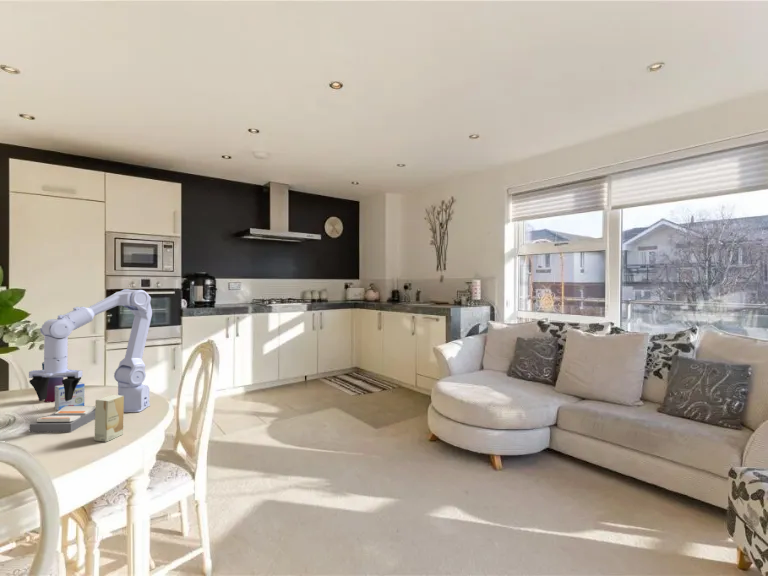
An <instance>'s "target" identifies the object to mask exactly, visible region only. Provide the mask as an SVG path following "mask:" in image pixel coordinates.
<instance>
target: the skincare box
mask: <svg viewBox="0 0 768 576" xmlns="http://www.w3.org/2000/svg"><path fill="white" fill-rule="evenodd" d="M94 406H95V419H94V441H97V442H105V443H107V442H109V441H111V440H113V439H115V438H118V437H121V436H123V435H124V413H125V412H124V396H121V395H118V394H110V395H108V396H104V397H102V398H99V399H95V405H94Z"/></svg>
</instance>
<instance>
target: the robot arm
mask: <svg viewBox="0 0 768 576" xmlns="http://www.w3.org/2000/svg"><path fill="white" fill-rule="evenodd" d="M151 301H152V297H151V295H149V293H148V292H146V291H145V290H143V289H127V288H124V289H122V290H120V291H116V292H115V293H113V294H111V295H109V296H107V297H106V298H104V299H102V300H100V301H97V302H96V303H94V304H92V305H90V306H88V307H86V306H80V307H79V306H75V307H73V308H72V309H73V310H71V311H69V312H67V313H64V314H59V315H57V318H52V319H48V320H45V321H44V323H43V324H42V325H41V327H40V328H39V333H41V335H43V336H44V337H43V339H44V341H43V343H44V344H43V362H44V370H42V369H38V370H37V369H35V370H34V369H33V370H31V371H28V378H29V379H30V380H29V384H30V385H31V386H32V387H33V389H34V391H35V393H36V395H37V398H38V401H39V402H43V401H45V399H47V387H48V382H49V379H50V377H64V378H63V380H62V383H63V385H64V390H65V401H69V400H71V399H72V397H73V393H74V391H75V388H76V386H77V384H78V382H81V379H82V377H83V370H81V369H80V370H77V369H70V368H69V369H68V367H69V366H68V364H69V363H68V361H69V357H68V356H69V355H68V353H69V350H68V349H69V348H68V346H69V342H68V340H69V339H68V338H69V336H71V334H72V332H73V331H74V330H78V329H79V328H81V327H83V326H85V325H87V324H89V323H91V322H93V320H94V317H95V316H96V315H100V314H102V313H104V312H106V311H108V310H111V309H113V308H115V307H117V306H118V307H119V306H123V307H124V308H127V309H128V310H129V311H130V312H131V314H132V315H133V316H134V317H133V322H132V325H131V330H130V333H129V338H128V342H127V347H126V351H125V355H124V357H123V359H122V360H121V361H119V364H118V366H117V368H116V369H115V370H114V373H113V374H114V375H113V377H114V380H115V381H116V382H117V395H121V396H124V413H140V412H142V411H144V410H145V409H147V408H148V407H150V406H151V403H150V387H149V385H146V384H143V383H144V381H145V379H146V374H147V373H146V370H145V369H146V364H145V362H144V360H143V356H144V351H145V347H146V343H147V339H148V334H149V330H150V326H151V321H152V318H153V317H152V316H153V309H152V305H151Z"/></svg>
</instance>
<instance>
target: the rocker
mask: <svg viewBox="0 0 768 576" xmlns="http://www.w3.org/2000/svg"><path fill="white" fill-rule="evenodd" d="M80 417H81V416H49V415H47V416H44V417H43V416H42V417H38V418H37V420H36V421H37V422H70V421H74V420H76V419H78V418H80Z"/></svg>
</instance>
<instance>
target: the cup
mask: <svg viewBox="0 0 768 576" xmlns="http://www.w3.org/2000/svg"><path fill="white" fill-rule="evenodd" d="M41 368H42V369H41V370H44V361H42V362H41ZM63 379H65V377H50V379H49V382H48V387H47V399H45V400H44V402H45V403H55V386H59V385H63V383H62V380H63Z"/></svg>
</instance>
